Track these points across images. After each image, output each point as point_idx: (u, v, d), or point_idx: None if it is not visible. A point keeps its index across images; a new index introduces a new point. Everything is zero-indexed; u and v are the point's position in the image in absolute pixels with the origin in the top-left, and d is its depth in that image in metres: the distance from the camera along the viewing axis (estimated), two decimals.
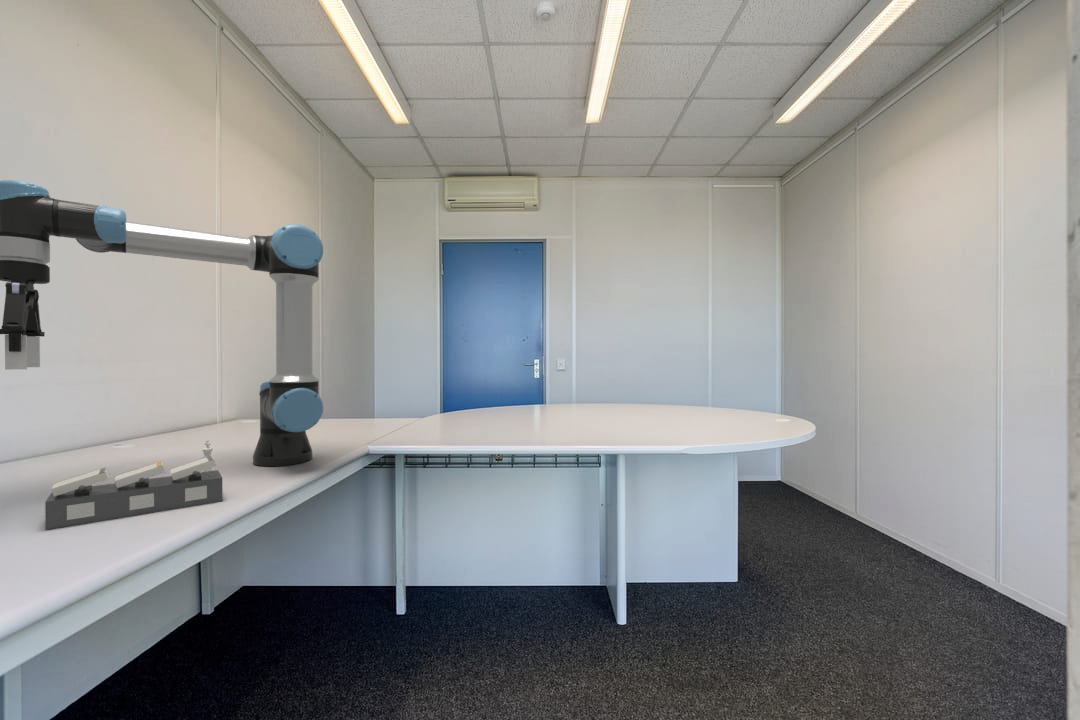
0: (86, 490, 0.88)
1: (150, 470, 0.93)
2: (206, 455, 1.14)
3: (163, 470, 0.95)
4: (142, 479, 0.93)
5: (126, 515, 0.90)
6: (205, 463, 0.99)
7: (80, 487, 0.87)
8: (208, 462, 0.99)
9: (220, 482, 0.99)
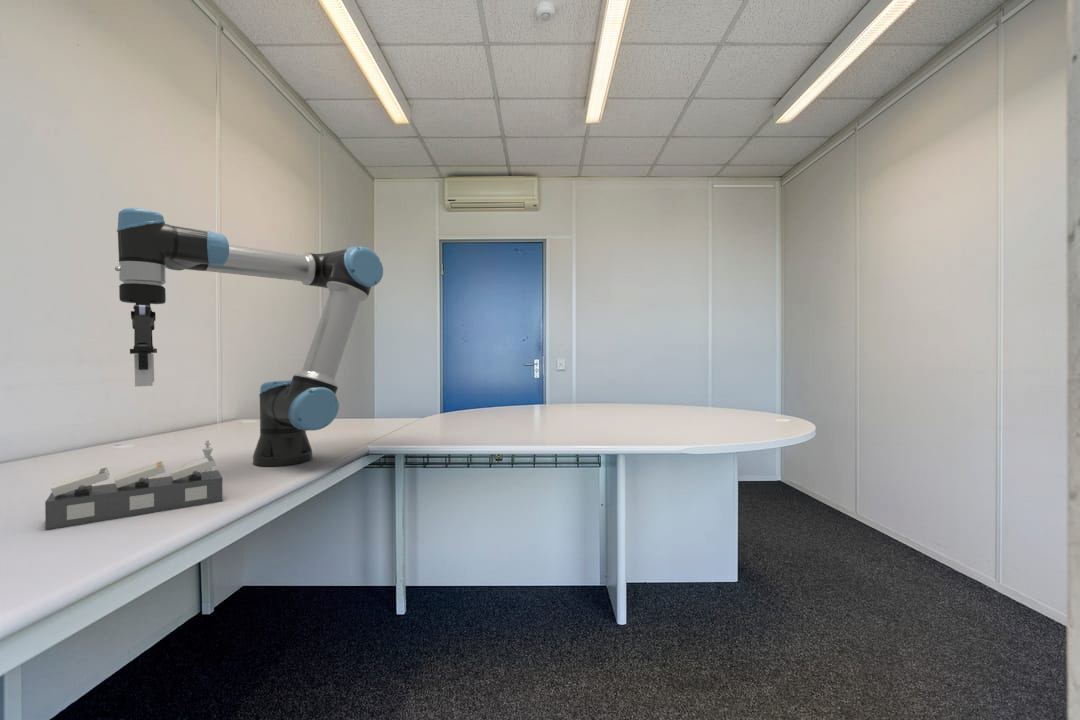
0: (86, 490, 0.88)
1: (150, 470, 0.93)
2: (206, 455, 1.14)
3: (163, 470, 0.95)
4: (142, 479, 0.93)
5: (126, 515, 0.90)
6: (205, 463, 0.99)
7: (80, 487, 0.87)
8: (208, 462, 0.99)
9: (220, 482, 0.99)
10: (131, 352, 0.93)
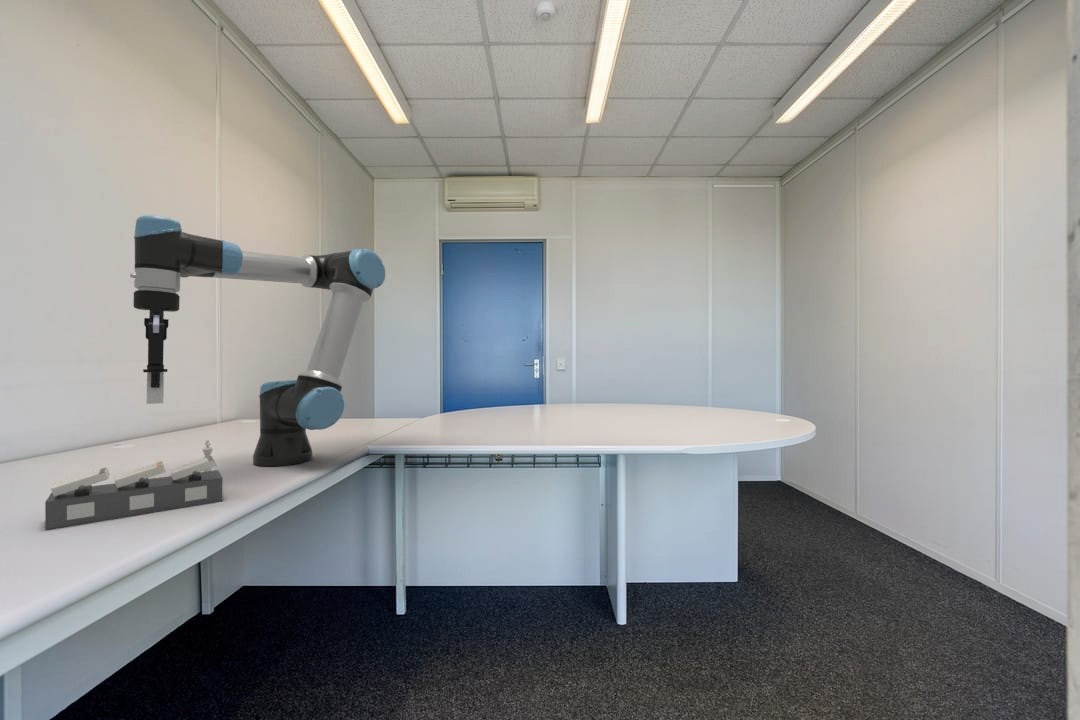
0: (86, 490, 0.88)
1: (150, 470, 0.93)
2: (206, 455, 1.14)
3: (163, 470, 0.95)
4: (142, 479, 0.93)
5: (126, 515, 0.90)
6: (205, 463, 0.99)
7: (80, 487, 0.87)
8: (208, 462, 0.99)
9: (220, 482, 0.99)
10: None
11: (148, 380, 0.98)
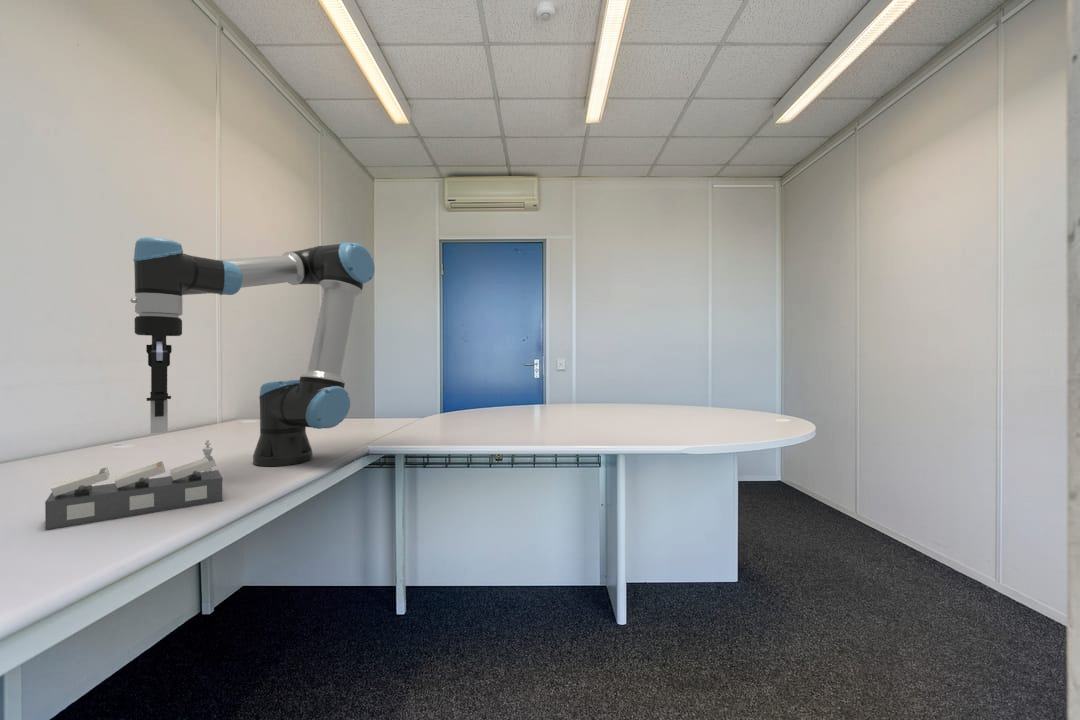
0: (86, 490, 0.88)
1: (150, 470, 0.93)
2: (206, 455, 1.14)
3: (163, 470, 0.95)
4: (142, 479, 0.93)
5: (126, 515, 0.90)
6: (205, 463, 0.99)
7: (80, 487, 0.87)
8: (208, 462, 0.99)
9: (220, 482, 0.99)
10: (148, 400, 0.94)
11: (151, 409, 0.94)
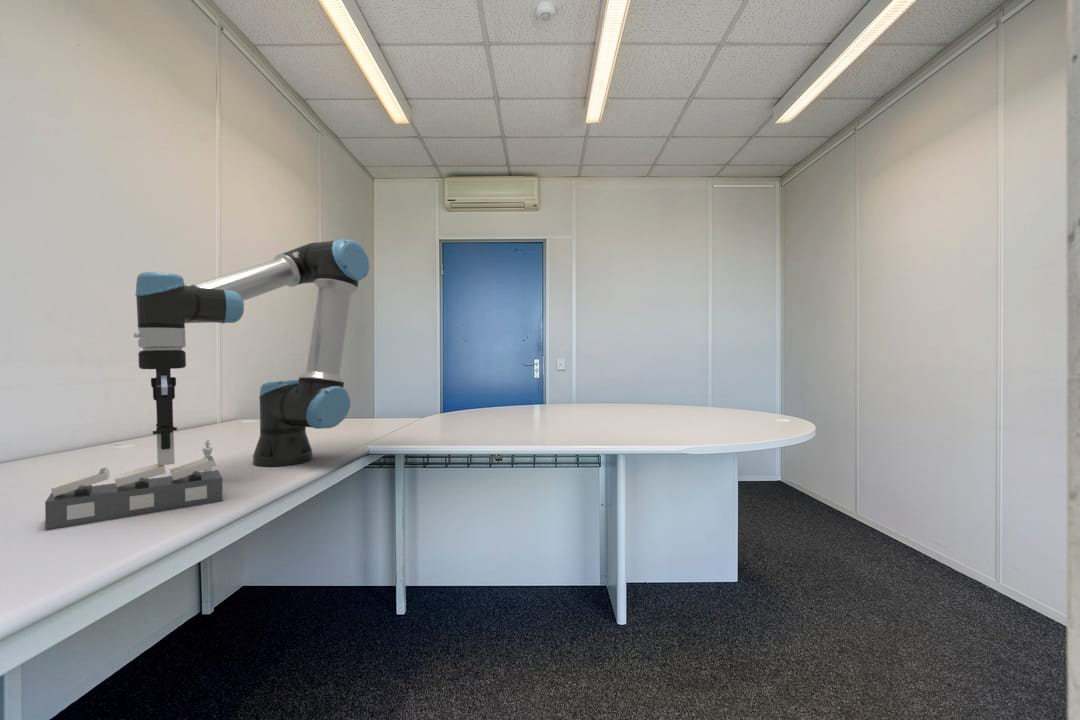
0: (86, 490, 0.88)
1: (151, 470, 0.93)
2: (206, 455, 1.14)
3: (163, 471, 0.95)
4: (142, 479, 0.93)
5: (126, 515, 0.90)
6: (205, 463, 0.99)
7: (80, 487, 0.87)
8: (208, 462, 0.99)
9: (220, 482, 0.99)
10: None
11: (158, 442, 0.95)
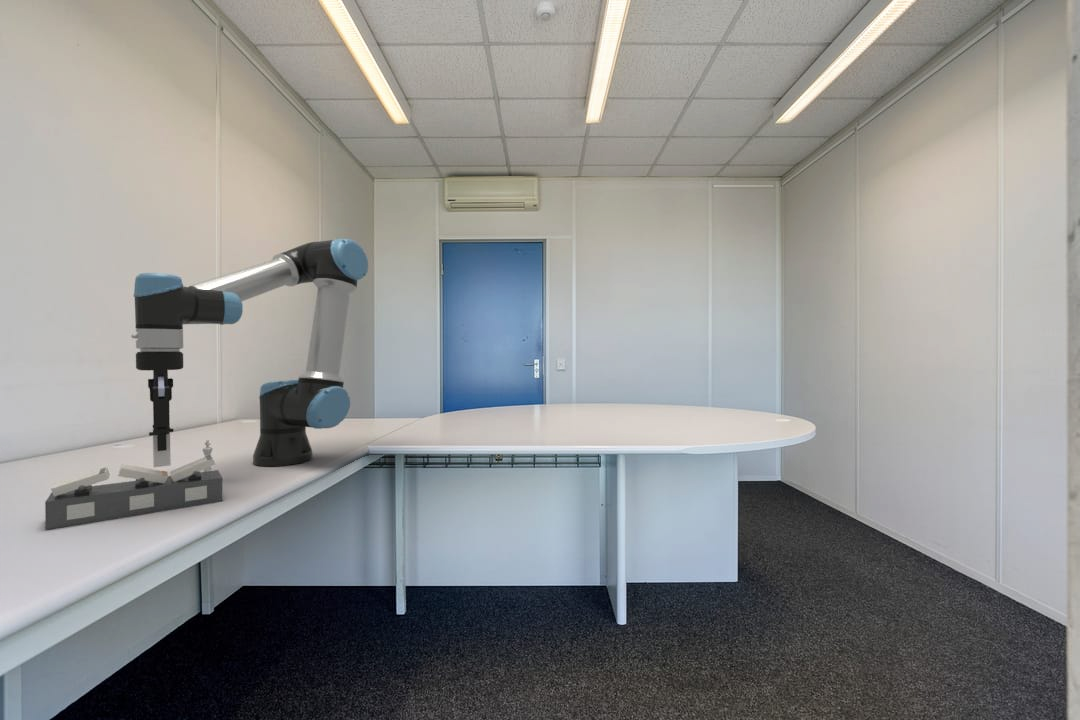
0: (86, 490, 0.88)
1: (155, 475, 0.94)
2: (206, 455, 1.14)
3: (164, 481, 0.95)
4: (142, 479, 0.93)
5: (126, 515, 0.90)
6: (204, 462, 0.99)
7: (80, 487, 0.87)
8: (207, 461, 0.99)
9: (220, 482, 0.99)
10: (150, 435, 0.94)
11: (154, 443, 0.95)
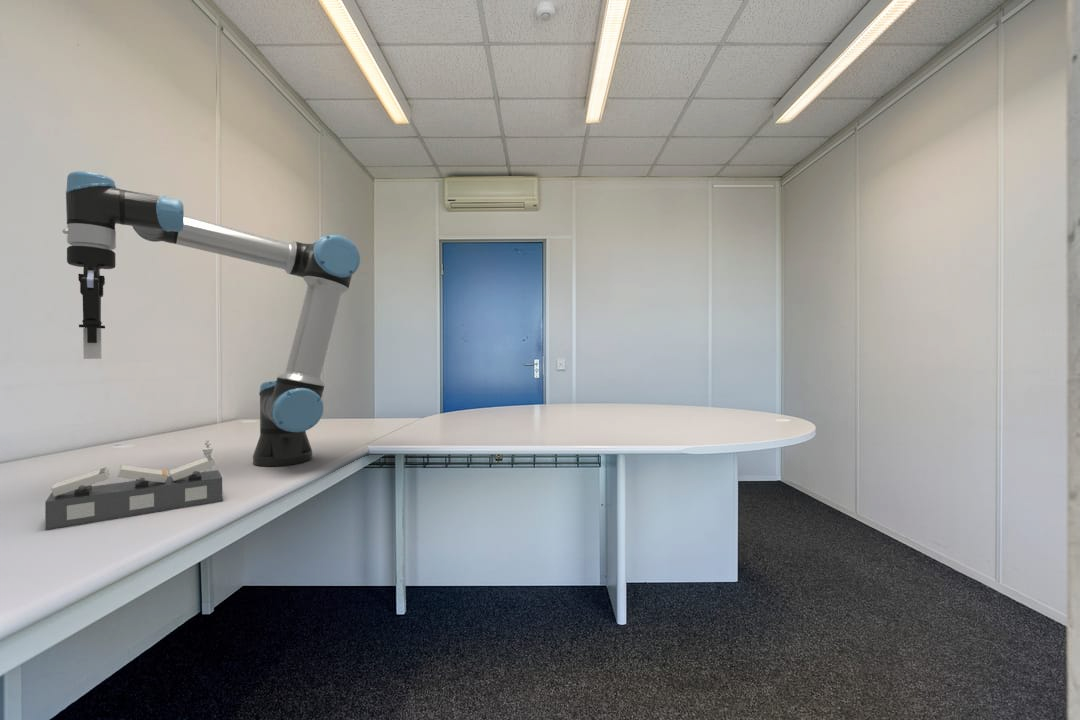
0: (86, 490, 0.88)
1: (155, 474, 0.94)
2: (206, 455, 1.14)
3: (164, 480, 0.95)
4: (142, 479, 0.93)
5: (126, 515, 0.90)
6: (205, 463, 0.99)
7: (80, 487, 0.87)
8: (208, 462, 0.99)
9: (220, 482, 0.99)
10: None
11: (84, 335, 0.99)
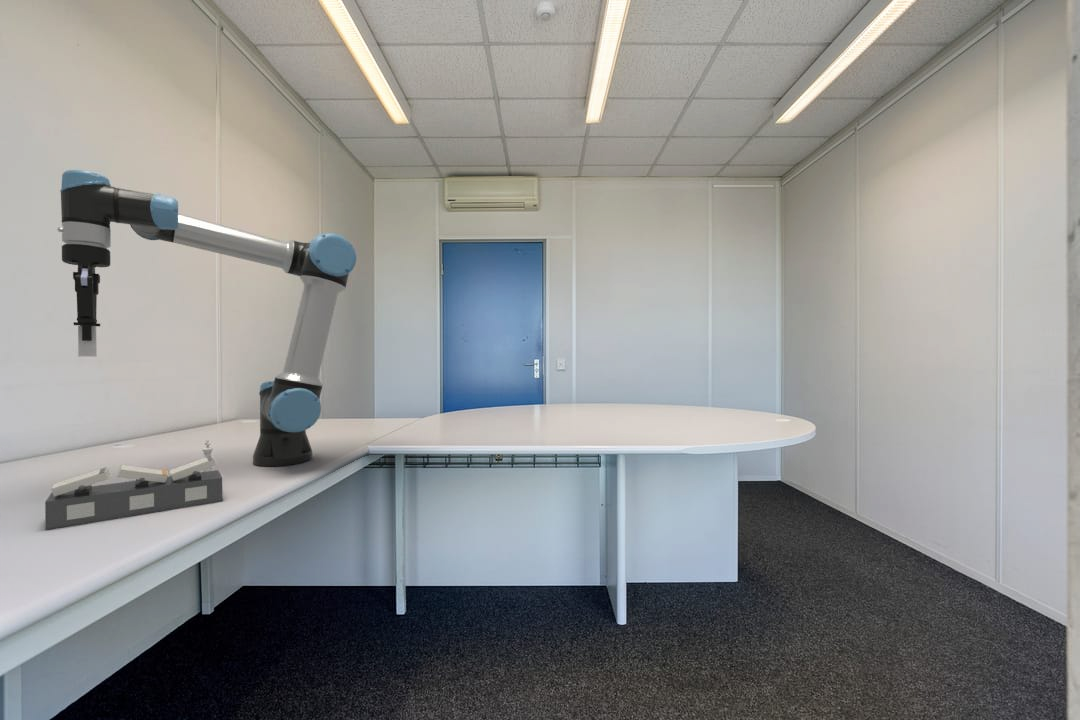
0: (86, 490, 0.88)
1: (155, 474, 0.94)
2: (206, 455, 1.14)
3: (164, 480, 0.95)
4: (142, 479, 0.93)
5: (126, 515, 0.90)
6: (205, 463, 0.99)
7: (80, 487, 0.87)
8: (208, 462, 0.99)
9: (220, 482, 0.99)
10: (75, 324, 0.99)
11: (79, 333, 1.00)
